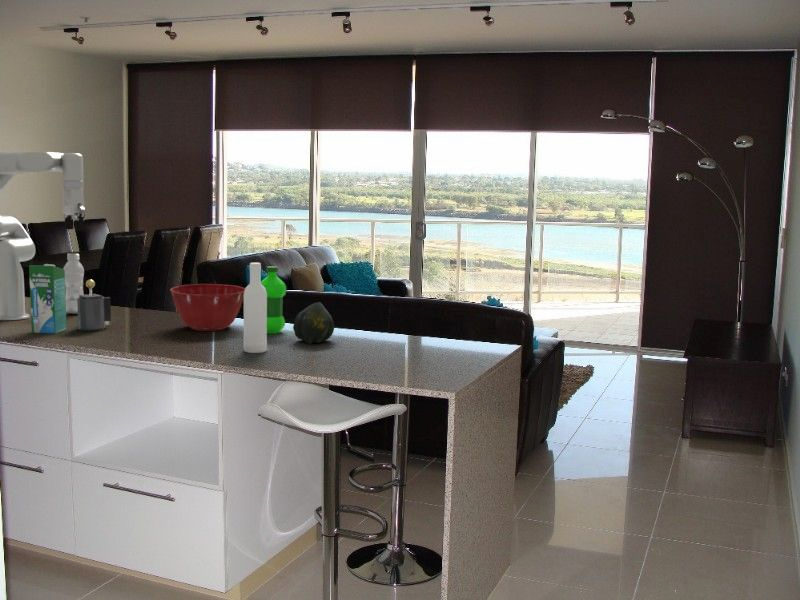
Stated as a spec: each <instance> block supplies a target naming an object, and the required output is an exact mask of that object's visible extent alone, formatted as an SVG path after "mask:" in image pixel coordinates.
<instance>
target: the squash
mask: <svg viewBox="0 0 800 600" xmlns="http://www.w3.org/2000/svg"><path fill="white" fill-rule="evenodd" d="M292 326H293V327H292V330H293V331H294V335H295V337H296V338H297V339H298V340H302V341H305V343H307V344H309V345H311V344H312V343H315V344H319V343H321V342H324V341H328V340H329V339H330V338H331V337H332V336H333V334H334V331H335V324H334V320H333V317H332V315H331V314H330V312H329V311H328V310H327V309H326V307H325V306H324V304H323V303H322V302H320V301H319V302H314V303H312V304H310V305H308V306H307V307H305V308H304V309H302V310H301V311H300V312H298V314H297V315H296V317H295V319H294V321H293V325H292Z"/></svg>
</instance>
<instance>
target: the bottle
mask: <svg viewBox="0 0 800 600" xmlns="http://www.w3.org/2000/svg"><path fill="white" fill-rule="evenodd" d="M261 265H262V263H261V262H250V263H249V267H248V269H249V284H248V285H247V286H246V287H245V291H244V298H243V351H244V352H245V353H249V354H260V353H261V354H262V353H266V352H267V350H268V340H267V339H268V335H267V334H268V333H267V293H266V290H265V287H264V286H263V285H262V284H261V281H262V280H261V278H262V277H261V275H262V272H261V271H262V270H261V269H262V266H261Z"/></svg>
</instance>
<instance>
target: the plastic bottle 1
mask: <svg viewBox="0 0 800 600" xmlns="http://www.w3.org/2000/svg"><path fill="white" fill-rule="evenodd" d="M66 257H67V258H66V259H67V262H66V263H65V265H64V266H63V269H64V270H65V297H66V314H71V315H78V309H77V298H78V297H79V295H84V275H85V269H84V266H83V265H82V263H81V262H80V260H81V259H80V254H79V253H67V256H66Z"/></svg>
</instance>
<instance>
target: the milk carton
mask: <svg viewBox="0 0 800 600" xmlns="http://www.w3.org/2000/svg"><path fill="white" fill-rule="evenodd" d="M28 268H29V269H28V271H29V272H28V273H29V274H28V275H29V293H30V294H29V298H30V301H29V302H30V322H31V324H30V325H31V327H30V328H31V333H32V334H52V335H53V334H57V333H61V332H63V331H66V330H67V312H66V286H65V270H64V268H60V267H57V266H56V265H55V264H50V263H49V264H48V263H45V264H43V265H38V264H36V265H35V264H34V265H33V264H30V265H28Z"/></svg>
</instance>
